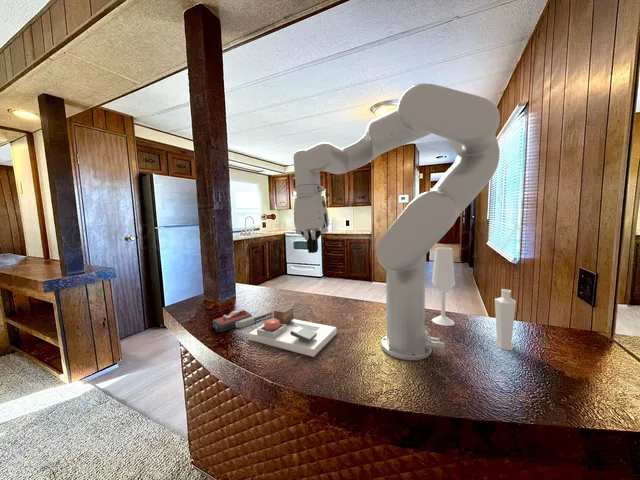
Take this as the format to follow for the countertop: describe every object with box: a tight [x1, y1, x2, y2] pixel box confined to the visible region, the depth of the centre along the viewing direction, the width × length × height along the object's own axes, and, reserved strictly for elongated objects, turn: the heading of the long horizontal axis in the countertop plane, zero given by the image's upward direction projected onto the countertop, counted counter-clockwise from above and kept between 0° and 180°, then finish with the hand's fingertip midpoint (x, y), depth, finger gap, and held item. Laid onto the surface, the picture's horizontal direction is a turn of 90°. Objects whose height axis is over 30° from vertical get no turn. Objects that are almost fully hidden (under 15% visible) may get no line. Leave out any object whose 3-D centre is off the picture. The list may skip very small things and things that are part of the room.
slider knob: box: [273, 305, 295, 324], centre depth 81 cm, size 4×5×4 cm
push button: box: [263, 318, 280, 332], centre depth 74 cm, size 4×4×2 cm
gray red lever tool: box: [212, 308, 274, 333], centre depth 88 cm, size 9×4×20 cm
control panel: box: [248, 318, 338, 357], centre depth 75 cm, size 22×14×4 cm, turn 62°
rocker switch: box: [290, 326, 317, 342], centre depth 69 cm, size 6×4×1 cm, turn 62°
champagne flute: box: [431, 246, 456, 327], centre depth 81 cm, size 7×7×24 cm
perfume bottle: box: [494, 288, 517, 351], centre depth 65 cm, size 5×4×15 cm
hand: (313, 252), depth 78 cm, fingers closed
